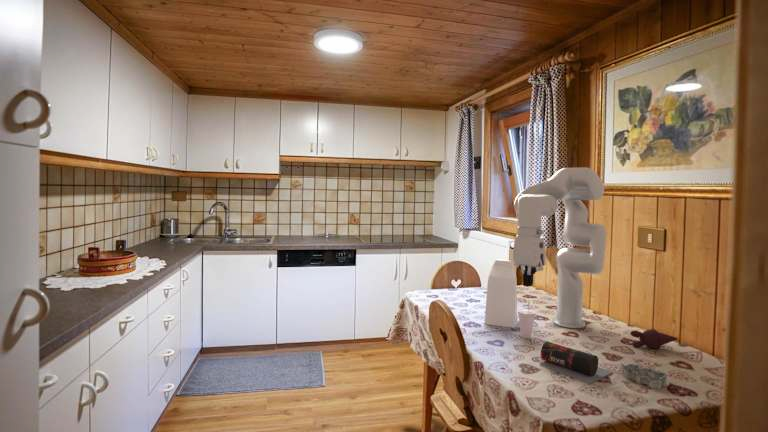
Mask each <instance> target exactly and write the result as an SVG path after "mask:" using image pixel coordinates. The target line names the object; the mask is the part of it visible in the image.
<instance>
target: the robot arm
mask: <svg viewBox="0 0 768 432" xmlns="http://www.w3.org/2000/svg"><path fill="white" fill-rule="evenodd" d="M604 194H605V185H604V182H603V180H602V179H601V178H600V177H599V175H598V174H597V172H596V171H594V170H593V169H591V168H590V167H586V166H585V167H563V168H561V169H559V170H558V171H556V172H555V173H554V174H553V175H552V176H551V177H550V178H549V179H548V180H545V181H542V182H539V183H537V184H533V185H530V186H527V187H526V188H524V189H523V190H522V191H520V192H519V193H518V194H517V196H516V197H515V200H514V203H513V206H514V207H513V209H514V211H515V212H516V214H517V227H516V228H517V235H515V239H514V242H513V243H514V244H513V252H512V255H513V256H512V260H513V267H516V268H518V269H519V270H520V273H521V275H522V286H523V287H527V288H528V287H532V286H533V285H534V275H536V273H537V272H542V271H544V266H545V265H546V256H547V255H546V245H545V244H546V243H545V239H544V237H543V236H542V235H544V234H545V231H544V229H543V230H542V217H550V216H553V215H554V214H555V213H556V212H557V211H558V201H560V200H562V201H561V202H562V203H563V205H564V210H565V213H564V215H565V216H564V224H563V234H562V235H563V236H562V237H563V242H564V243H565V244H567V245H571V246H578V247H579V246H580V247H589V248H590V249H583V248H582V249H581V248H576V247H575V248H574V247H565V248H561V249H559V250H558V252H557V253H556V257H555V259H556V266H557V293H556V295H557V296H556V297H557V298H556V299H557V300H556V315H555V316H554V317H552V320H551V321H552V323H553V324H554V325H556V326H559V327H563V328H566V329H567V328H569V329H582V328H586V322H585V321H584V320H583V319H582V318H584V317H586V314H587V313H586V312H584V311H583V297H584V295H583V293H584V291H583V290H584V283H583V279H582V277H581V276H580V274H579V273H581V274H587V275H588V274H589V275H599V274H601V273H602V271H603V269H604V265H605V256H606V247H607V231H606V227H605V226H603V224H600V223H595V222H594V223H591V222H590V223H589V222H588V219H589V218H588V216H589V210H588V208H587V206H586V205H585V204H584V203H583V201H599V200H601V199H602V198H603V196H604Z"/></svg>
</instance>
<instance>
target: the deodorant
mask: <svg viewBox="0 0 768 432" xmlns="http://www.w3.org/2000/svg"><path fill="white" fill-rule="evenodd" d="M540 358H541V360H542V361H548V362H551V363H554V364H557V365H560V366H563V367H566V368H569V369H572V370H575V371H578V372H581V373H584V374H587V375H590V376H594V375H595V374H596V372H597V368H598V367H599V358H598V356H597V355H595V354H591V353H588V352H585V351H581V350H579V349H574V348H571V347H568V346H565V345H560V344H557V343H554V342H551V341H545V342H543V344H542V346H541V349H540Z"/></svg>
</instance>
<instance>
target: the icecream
mask: <svg viewBox="0 0 768 432" xmlns="http://www.w3.org/2000/svg"><path fill="white" fill-rule="evenodd" d="M630 335H631V336H632V337H634V338H637V339H638V340H635V341H634V342H632V346H633V348H642V347H644V346H645V347H648V348H650V349H656V350H659V349H661V346H663V345H666V344H669V343H671V342H674V341H677V340H678V337H675V336H672V335H669V334H666V333H663V332H659V331H658V330H656V329H655V328H652V329H646V330H645V331H643V332H641V331H638V330H631V331H630Z"/></svg>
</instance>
